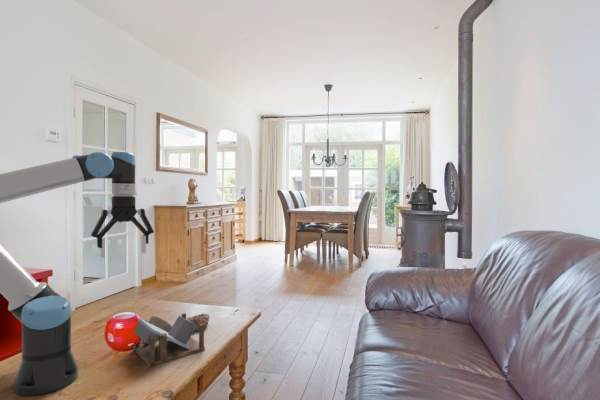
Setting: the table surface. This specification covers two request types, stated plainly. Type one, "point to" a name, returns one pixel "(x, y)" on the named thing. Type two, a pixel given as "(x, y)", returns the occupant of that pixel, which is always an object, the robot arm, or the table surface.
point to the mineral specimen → (199, 320)
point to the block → (182, 329)
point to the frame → (168, 348)
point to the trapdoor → (153, 333)
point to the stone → (160, 323)
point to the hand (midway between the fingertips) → (123, 255)
